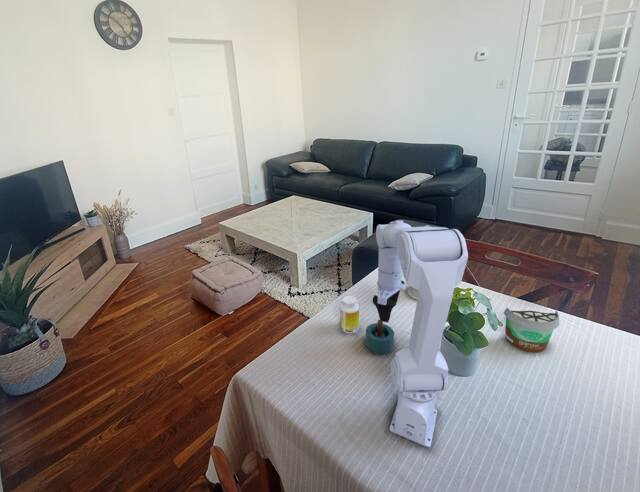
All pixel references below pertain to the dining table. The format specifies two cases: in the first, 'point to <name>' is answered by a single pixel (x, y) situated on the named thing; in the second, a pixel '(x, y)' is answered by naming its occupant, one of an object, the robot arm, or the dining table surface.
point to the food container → (530, 329)
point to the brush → (380, 330)
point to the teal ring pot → (379, 339)
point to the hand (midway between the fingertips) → (388, 312)
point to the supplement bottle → (349, 315)
